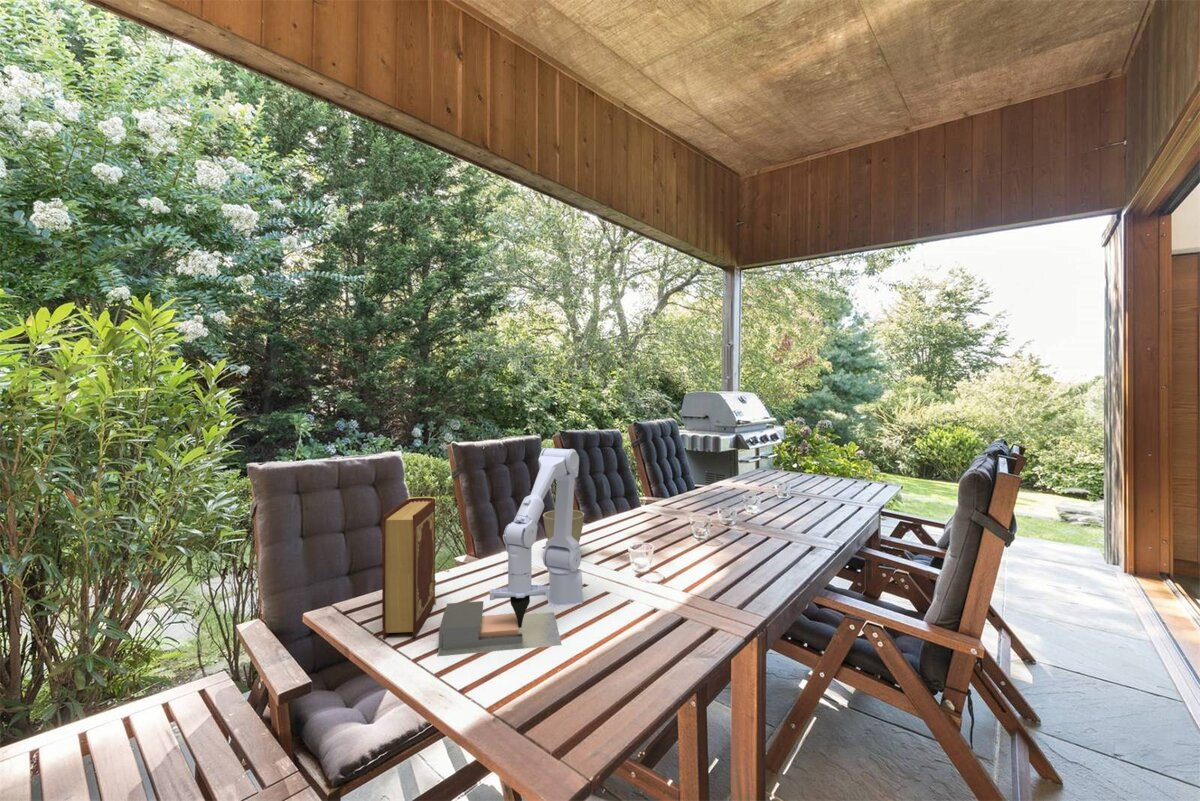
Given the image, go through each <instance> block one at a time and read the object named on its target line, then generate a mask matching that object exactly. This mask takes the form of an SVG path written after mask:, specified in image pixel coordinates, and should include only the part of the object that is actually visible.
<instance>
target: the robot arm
mask: <svg viewBox="0 0 1200 801" xmlns="http://www.w3.org/2000/svg"><path fill="white" fill-rule="evenodd" d="M579 466H580V456H579V454H578V453H577V450H576V449H574V448H570V449H569V448H568V449H566V448H553V447H551V448H550V447H544V448H543V449H541V451H540V453H539V457H538V468H539V470H538V472H537V475H536V478H535V481H534V484H533V487H532V489H531V492H530V495H527V496H525V497H523V500H522V501H521V504H520V506H519V509H518V511H517V513H516V515H515V517H514V520H513V521H512V522H510V523H508V524H507V525H506V526H505V529H504V531H503V535H502V540H503V543H504V544H505V551H506V553H507V559H508V560H507V574H508V576H507V578H508V579H507V580H508V581H507V586H504V587H499V588H493V589H491V588H490V589H489V601H494V600H498V599H510V605H511V607H512V609H513V612H514V613H515V614H516V617H517V620H518V627H519V628H521V627H522V621H523V617H524V614H526V612H527V608H528V607H529V605H530V602H531V598H530V597H536V596H545V597H546V600H547V603H548V607H559V606H560V607H562V606H571V605H572V606H573V605H582V604H583V573H582V569H580V566H581V563H582V562H581V561H582V554H581V546H580V545H581V544H580V542H579V543H578V542H577V541H576V540H575V539H574V538H573V537H572V536H571V533H572V516H573V510H574V499H575V498H574V497H575V496H574V495H575V482H576V481H575V479H576V478H578V477H579ZM554 480H555V481H556V488H555V490H556V491H555V507H554V510H555V520H554V536H553V537H552V538H550V539H549V540H548V539H547V540H546V542H545V547H544V551H543V554H542V562H543V565H544V567H546V571H547V572H548V577H549V578H548V582H549V583H548V585H542V584H540V585H539V584H532V547H533V545H534V544H535V542H536V540H537V534H538V533H537V531H538V529H539V528H538V526H539V525H538V522H539V520H540V518H541V516H542V513H543V511H544V508H545V503H544V499H545V497H546V495H547V493H548V492H549V489H550V487H551V486H552V484H553V483H554Z"/></svg>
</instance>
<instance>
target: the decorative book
mask: <svg viewBox="0 0 1200 801" xmlns="http://www.w3.org/2000/svg"><path fill="white" fill-rule="evenodd" d="M436 504H437V498H436V497H434V496H414V497H408V498H406V499H405V500H404V501H402V502H401V503H399V504H398V505H397V506H395V507H393V508H392V509H390V510H389V511H387V512H386V513H385V514H384V515H383V518H382V533H381V534H382V537H381V538H382V542H381V546H382V547H381V548H382V549H381V550H382V552H381V554H382V558H381V559H382V560H381V562H382V563H381V568H382V572H381V573H382V574H381V576H382V578H381V580H382V581H381V585H382V586H381V590H382V591H381V594H382V596H381V598H382V599H381V600H382V601H381V602H382V604H381V605H382V606H381V608H382V609H381V610H382V611H381V616H382V617H381V618H382V621H381V622H382V637H383V638H382V639H383V640H384V641H385V640H386V639H387V636H388V635H389V633H390V634H393V633H397V634H398V633H412V639H413V638H414V637H415V638H416V636H417V635H418V634H417V633H419V632H420V631H419V630H421V629H422V627H423V625H424V624H425V621H426V620H427V619H428V617H429V615H430V614H431V612H432V610H433V608H434V606H435V605H436V604H437V598H436V585H437V580H436V570H437V565H436V536H437V532H436V522H437V517H436ZM415 638H414V639H415Z"/></svg>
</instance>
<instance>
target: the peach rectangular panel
mask: <svg viewBox="0 0 1200 801" xmlns="http://www.w3.org/2000/svg"><path fill="white" fill-rule="evenodd" d="M515 634H518V622H517V617H516V614H514V613H506V614H505V613H504V614H502V615H501V614H492V615H491V614H490V616H488V615H482V625H481V631H479V638H480V637H492V636H503V635H515Z"/></svg>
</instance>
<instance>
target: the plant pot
mask: <svg viewBox="0 0 1200 801" xmlns="http://www.w3.org/2000/svg"><path fill="white" fill-rule="evenodd" d="M542 517H543V525H544V529H545V530H544V531H545V535H546V539H547V541H548V540H549V539H550V538H552V537H553V536H554V520H555V509H554V510H549V511H547V512H543V515H542ZM584 518H585V513H584V512H583V511H580V510H577V509H573V516H572V533H571V536H572V537H573V538H574V539H575V540H576V541H577V542H578V543H579V544H580V541H581V537H582V531H583V526H584Z"/></svg>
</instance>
